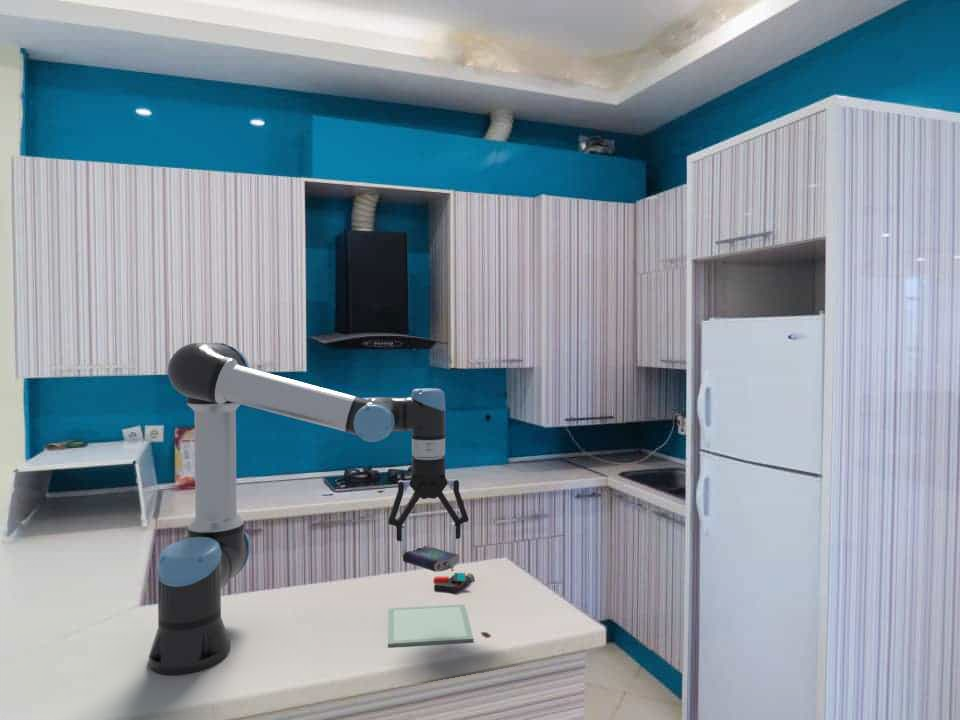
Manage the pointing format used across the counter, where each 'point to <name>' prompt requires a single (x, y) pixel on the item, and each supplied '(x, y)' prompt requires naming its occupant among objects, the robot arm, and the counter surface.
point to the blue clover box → (431, 558)
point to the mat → (428, 625)
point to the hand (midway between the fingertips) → (428, 553)
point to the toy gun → (453, 582)
